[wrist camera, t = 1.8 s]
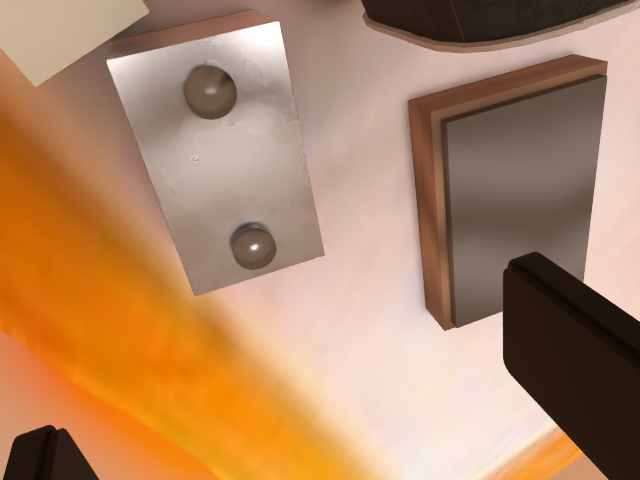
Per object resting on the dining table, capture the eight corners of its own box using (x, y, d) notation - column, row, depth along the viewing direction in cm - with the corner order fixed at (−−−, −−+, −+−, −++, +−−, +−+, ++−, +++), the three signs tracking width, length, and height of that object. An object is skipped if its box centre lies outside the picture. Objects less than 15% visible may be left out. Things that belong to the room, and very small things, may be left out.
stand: (408, 100, 26) (436, 115, 24) (574, 54, 28) (617, 63, 25) (426, 308, 34) (449, 337, 31) (557, 261, 35) (589, 285, 33)
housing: (112, 39, 21) (104, 64, 16) (251, 8, 22) (283, 22, 17) (185, 241, 26) (196, 305, 21) (295, 208, 27) (329, 262, 23)
